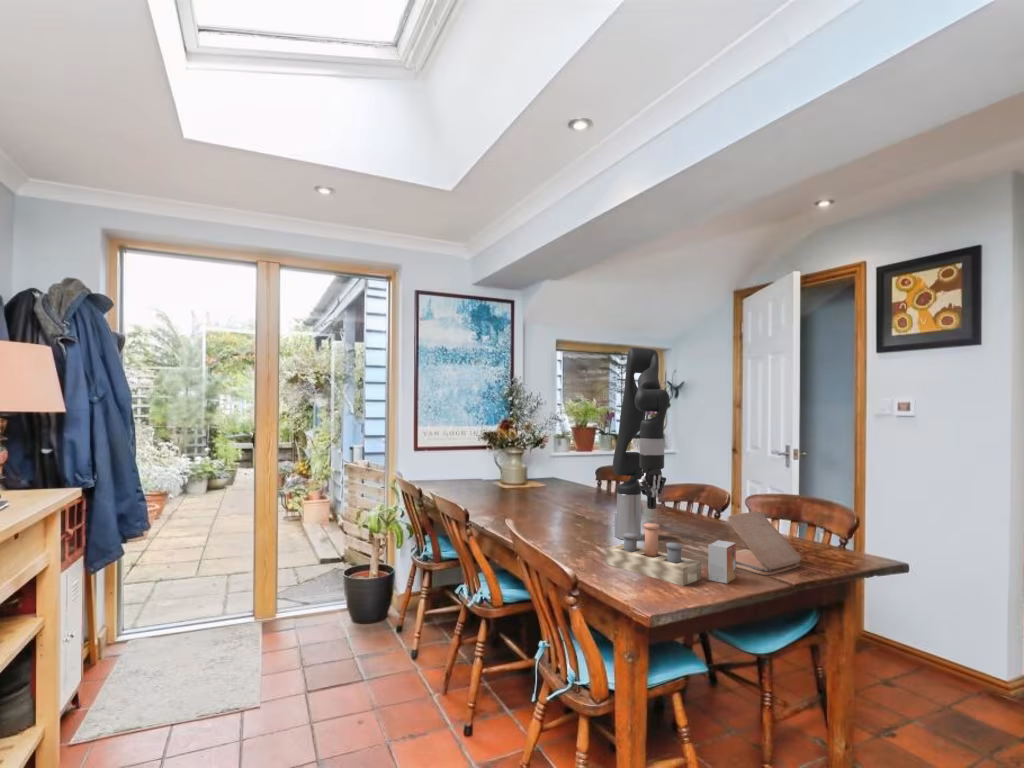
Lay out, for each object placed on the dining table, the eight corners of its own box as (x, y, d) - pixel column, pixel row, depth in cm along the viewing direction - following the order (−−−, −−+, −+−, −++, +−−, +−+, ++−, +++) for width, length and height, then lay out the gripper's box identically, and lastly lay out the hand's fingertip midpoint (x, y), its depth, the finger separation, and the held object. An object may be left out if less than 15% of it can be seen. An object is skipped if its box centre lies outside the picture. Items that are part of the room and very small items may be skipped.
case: (767, 578, 166) (768, 524, 167) (708, 561, 184) (709, 512, 184) (804, 568, 177) (804, 518, 178) (745, 553, 195) (745, 507, 196)
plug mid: (640, 556, 171) (641, 524, 172) (649, 553, 174) (649, 522, 175) (653, 559, 168) (653, 527, 168) (662, 556, 171) (662, 525, 171)
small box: (727, 584, 159) (726, 547, 160) (707, 580, 163) (707, 544, 163) (736, 578, 165) (736, 542, 166) (717, 574, 169) (717, 539, 169)
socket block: (605, 563, 178) (605, 548, 178) (624, 558, 185) (624, 543, 185) (682, 586, 157) (682, 568, 157) (701, 579, 164) (701, 562, 164)
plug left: (620, 565, 177) (620, 534, 178) (628, 562, 180) (628, 532, 181) (631, 568, 174) (631, 537, 174) (640, 565, 177) (640, 534, 177)
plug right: (663, 577, 165) (663, 544, 166) (671, 574, 168) (671, 541, 169) (676, 580, 162) (676, 547, 162) (685, 577, 165) (685, 544, 165)
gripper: (653, 451, 180) (653, 504, 179) (629, 453, 171) (628, 509, 170) (674, 452, 174) (674, 508, 173) (649, 454, 165) (649, 513, 165)
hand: (651, 508), depth 172 cm, fingers closed
